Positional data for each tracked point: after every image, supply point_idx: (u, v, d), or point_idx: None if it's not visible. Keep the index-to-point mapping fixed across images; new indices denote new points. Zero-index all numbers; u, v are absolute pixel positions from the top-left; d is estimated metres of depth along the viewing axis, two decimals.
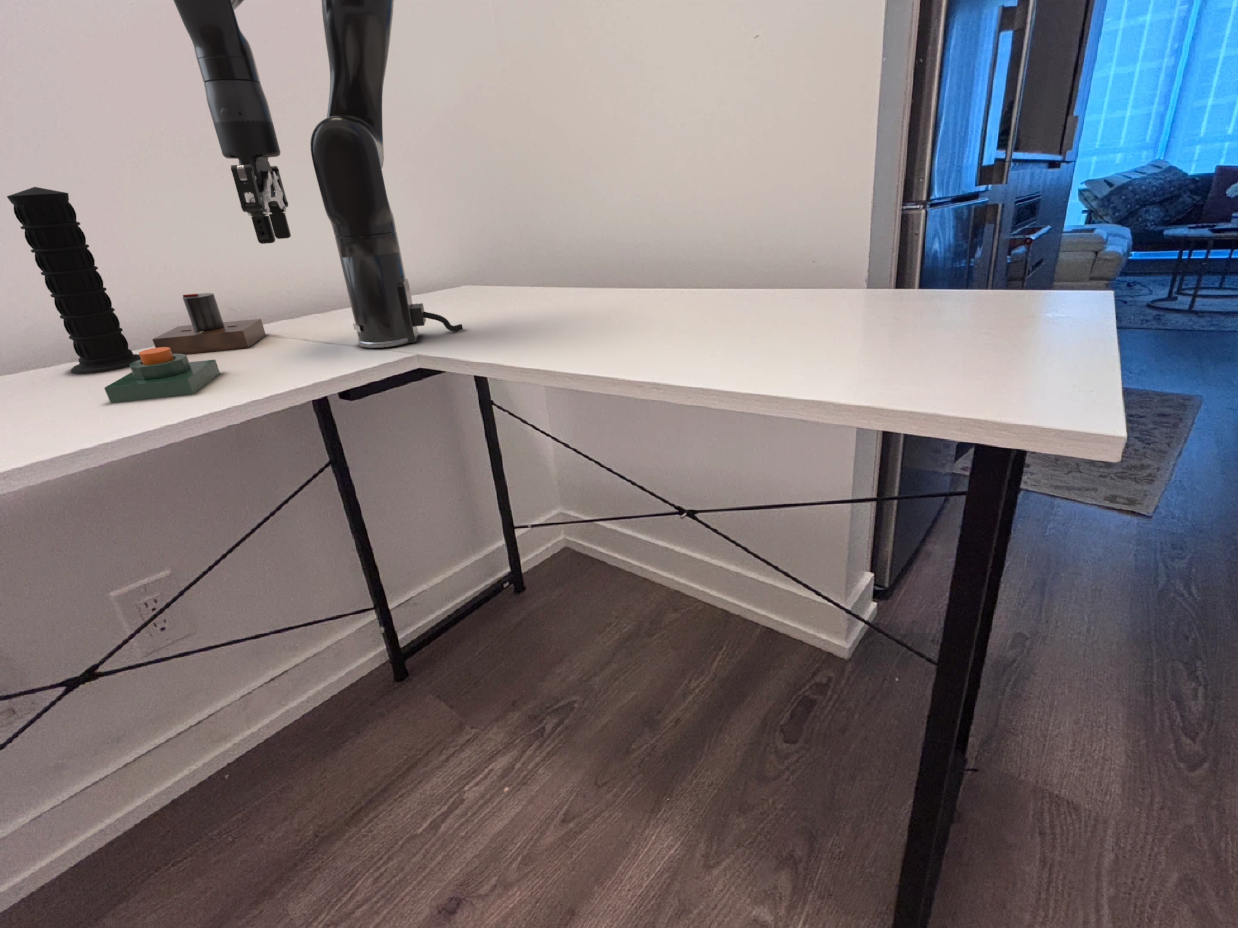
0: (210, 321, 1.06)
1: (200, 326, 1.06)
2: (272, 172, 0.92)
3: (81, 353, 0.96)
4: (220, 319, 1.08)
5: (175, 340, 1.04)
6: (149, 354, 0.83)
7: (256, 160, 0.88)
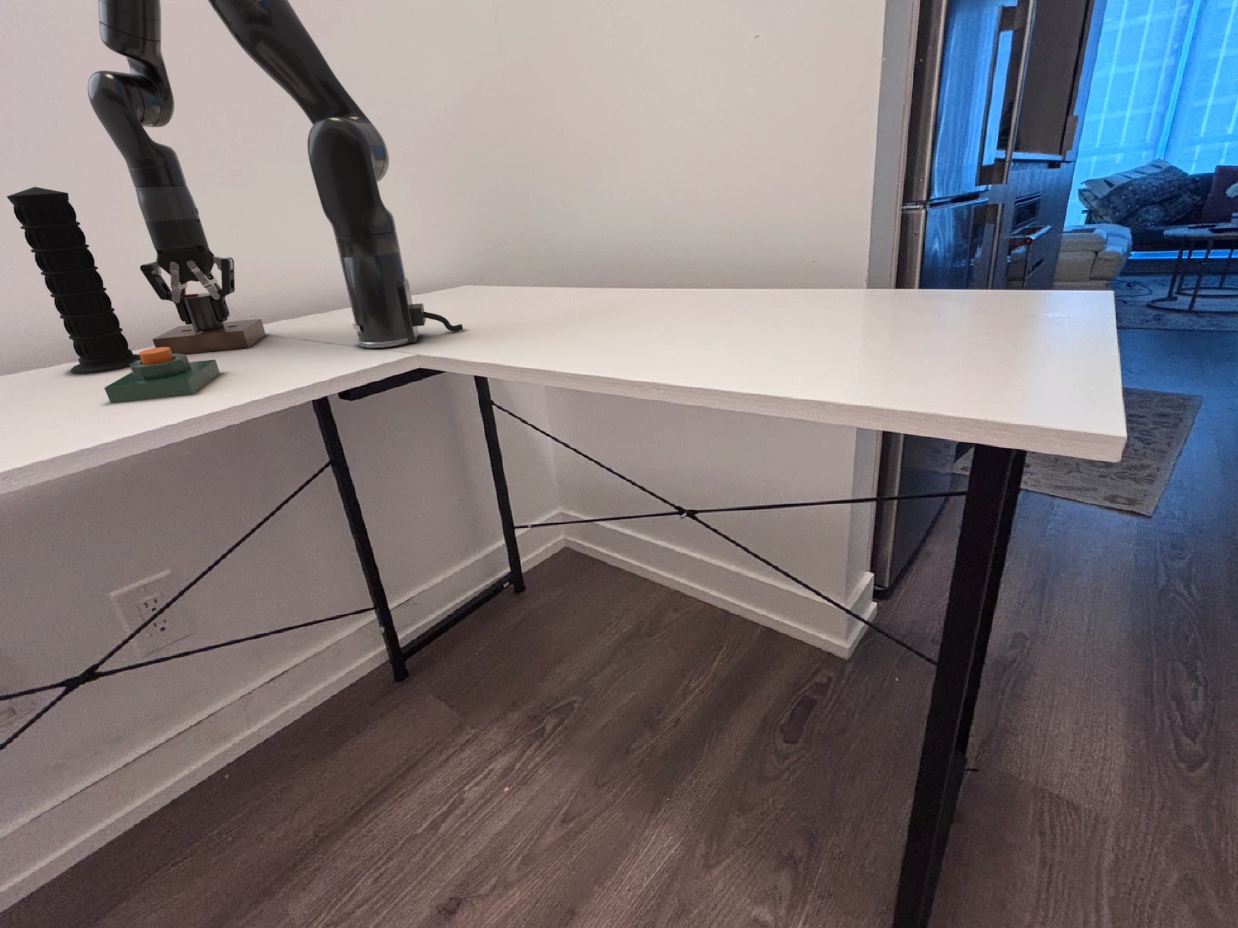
0: (210, 321, 1.06)
1: (200, 326, 1.06)
2: (188, 261, 1.02)
3: (81, 353, 0.96)
4: None
5: (175, 340, 1.04)
6: (149, 354, 0.83)
7: (161, 252, 1.01)
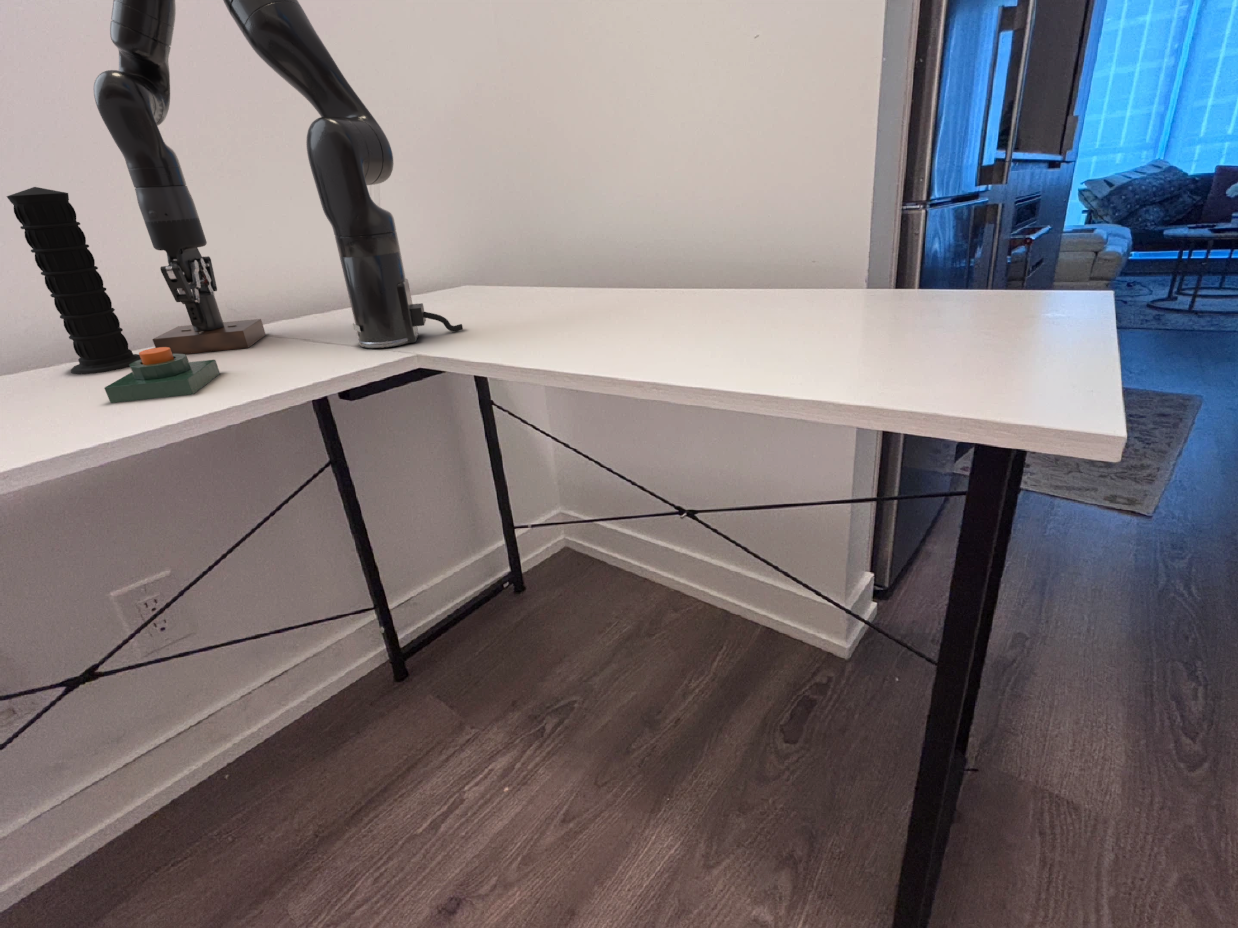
0: None
1: (221, 323, 1.08)
2: (200, 258, 1.05)
3: (81, 353, 0.96)
4: None
5: (175, 340, 1.04)
6: (149, 354, 0.83)
7: (182, 252, 1.00)
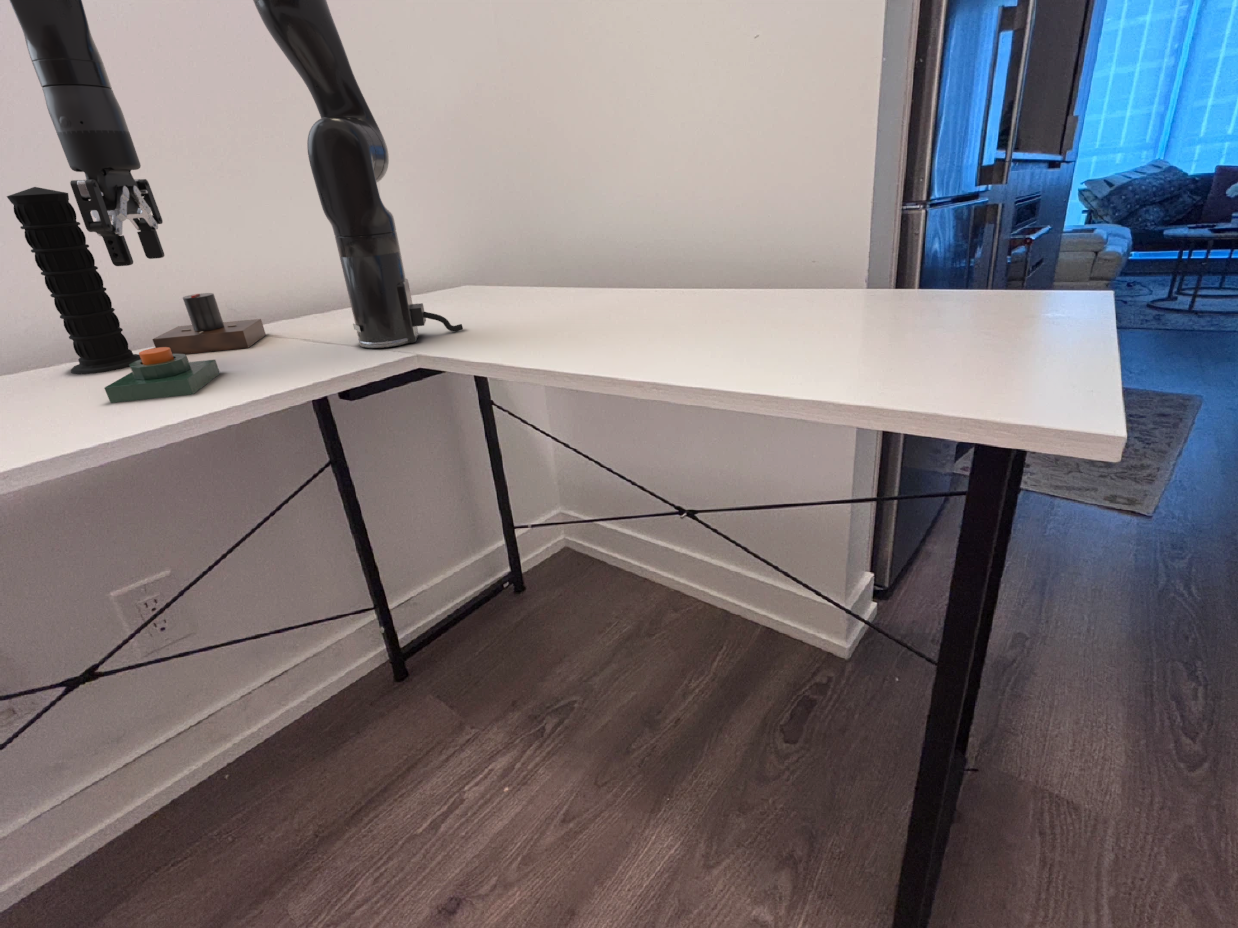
0: None
1: (221, 323, 1.08)
2: (132, 187, 0.83)
3: (81, 353, 0.96)
4: None
5: (175, 340, 1.04)
6: (149, 354, 0.83)
7: (106, 174, 0.79)
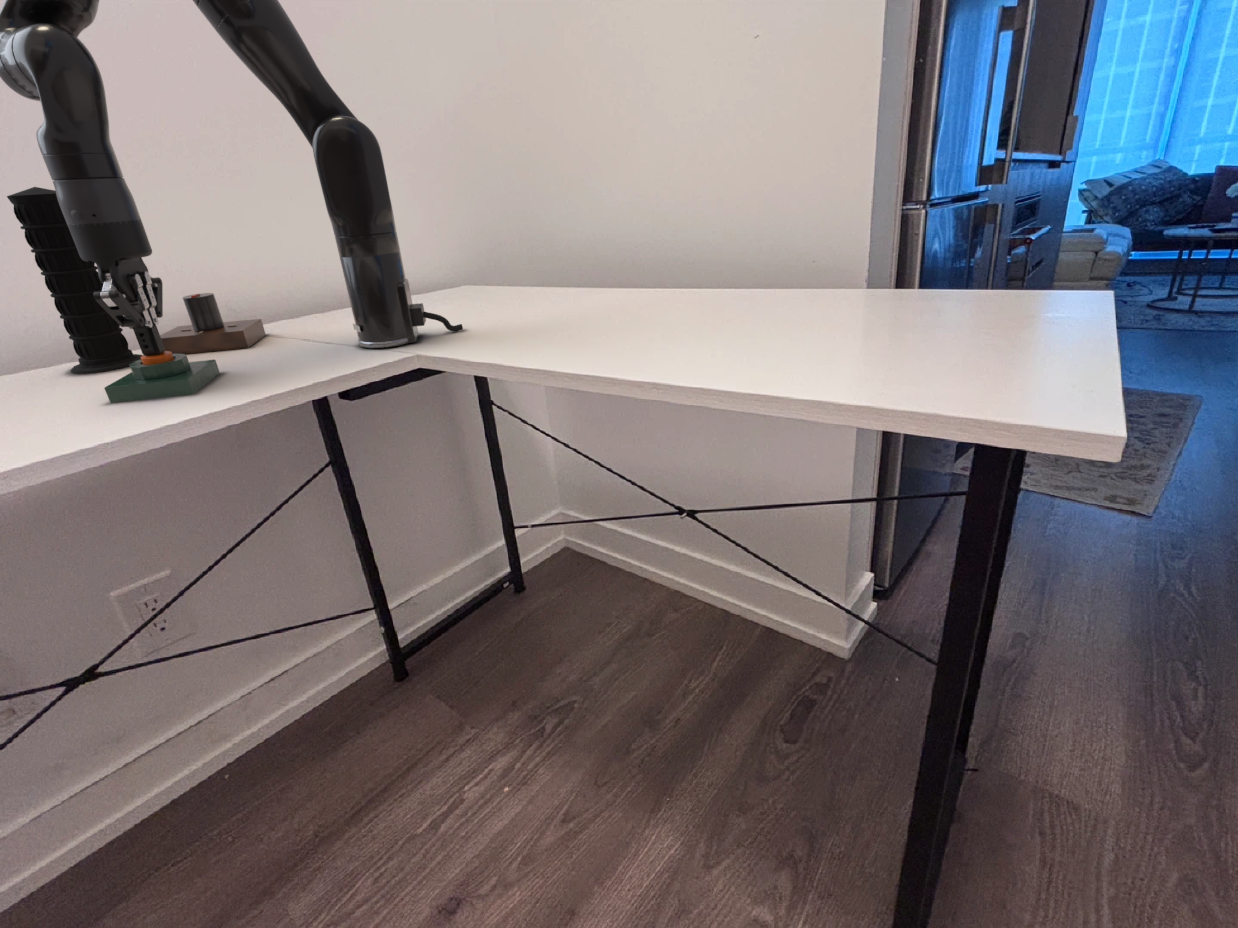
0: None
1: (221, 323, 1.08)
2: (144, 271, 0.82)
3: (81, 353, 0.96)
4: None
5: (175, 340, 1.04)
6: (151, 358, 0.83)
7: (118, 264, 0.78)
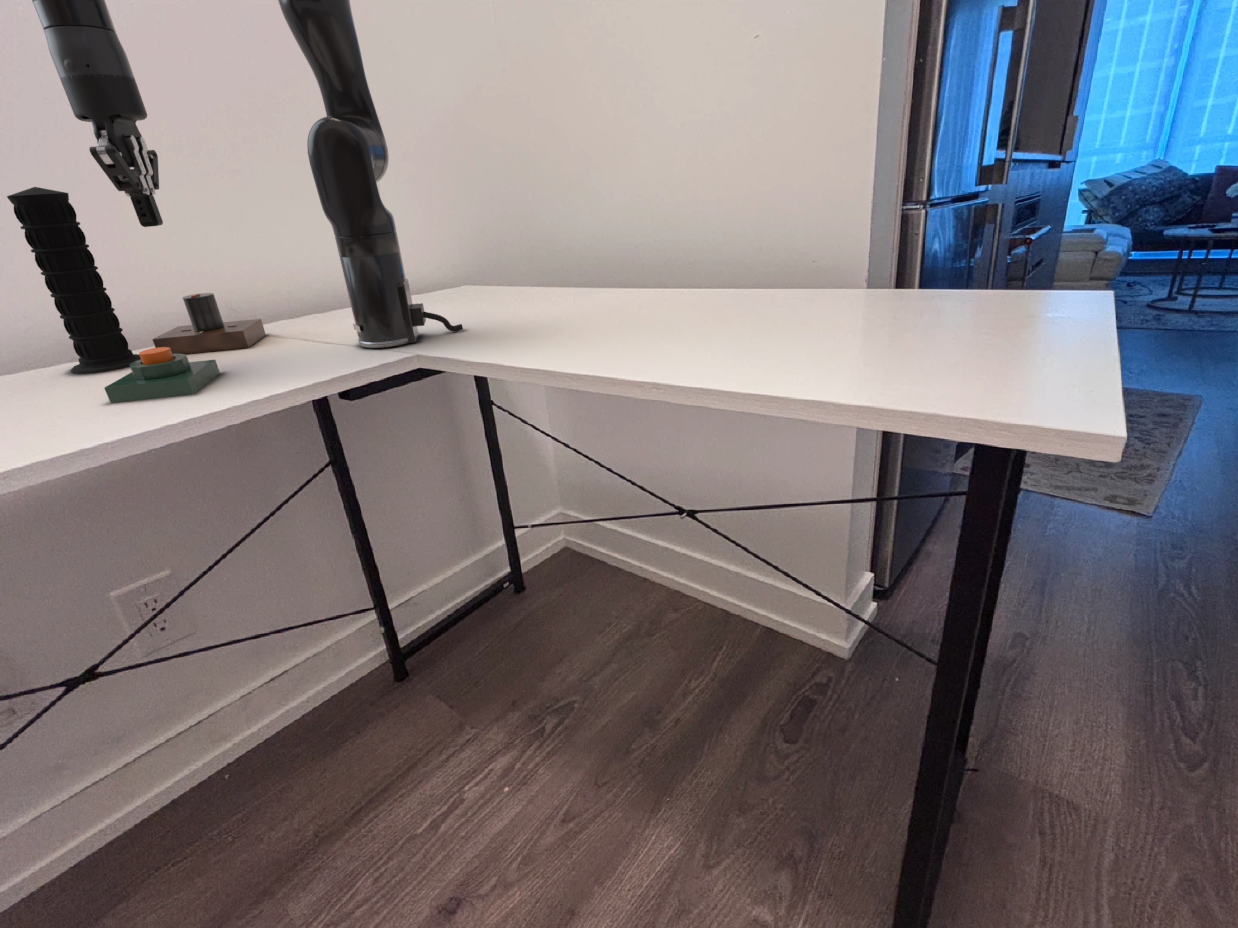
0: None
1: (221, 323, 1.08)
2: (140, 136, 0.81)
3: (81, 353, 0.96)
4: None
5: (175, 340, 1.04)
6: (149, 354, 0.83)
7: (113, 121, 0.76)
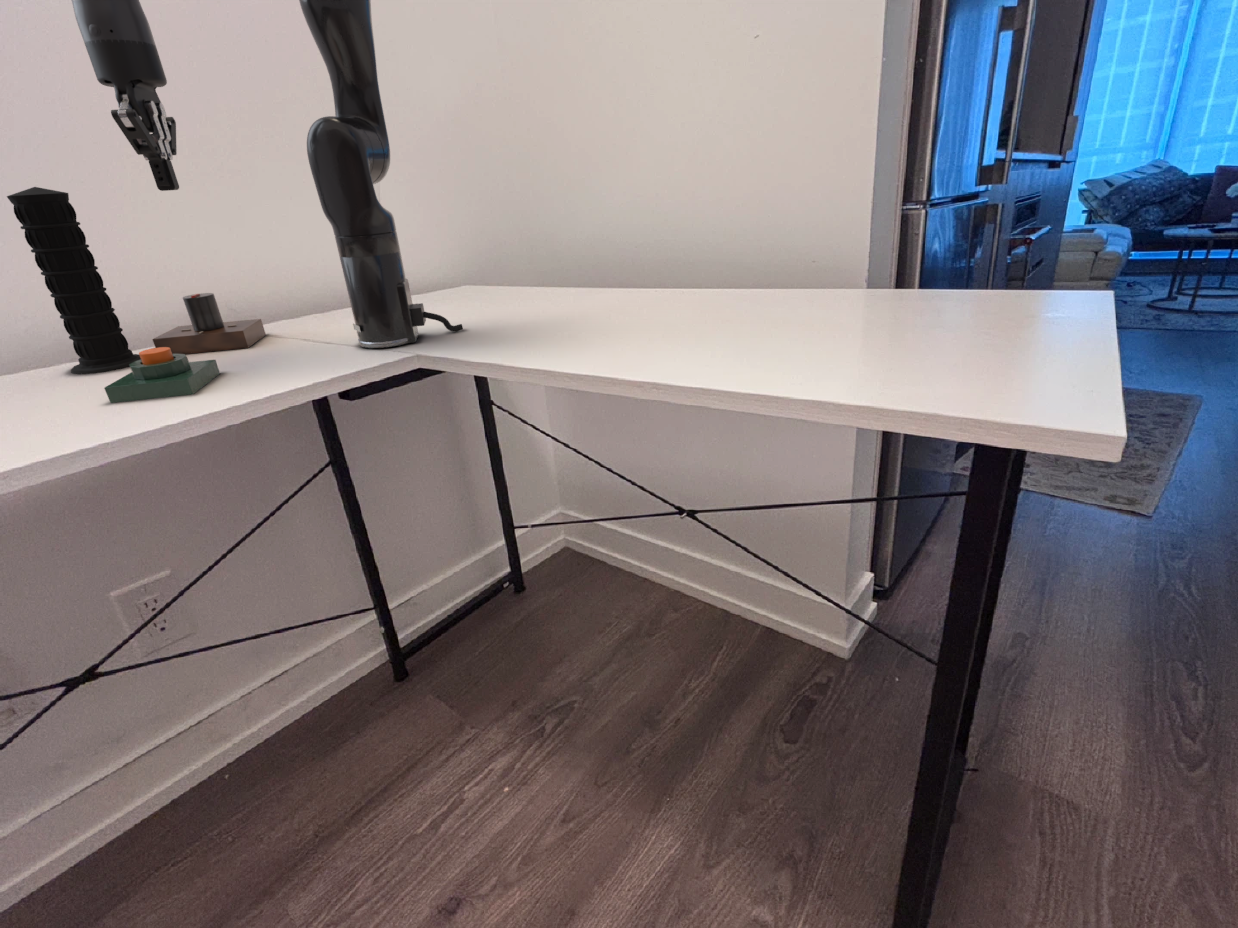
0: None
1: (221, 323, 1.08)
2: (159, 102, 0.84)
3: (81, 353, 0.96)
4: None
5: (175, 340, 1.04)
6: (149, 354, 0.83)
7: (134, 86, 0.79)
